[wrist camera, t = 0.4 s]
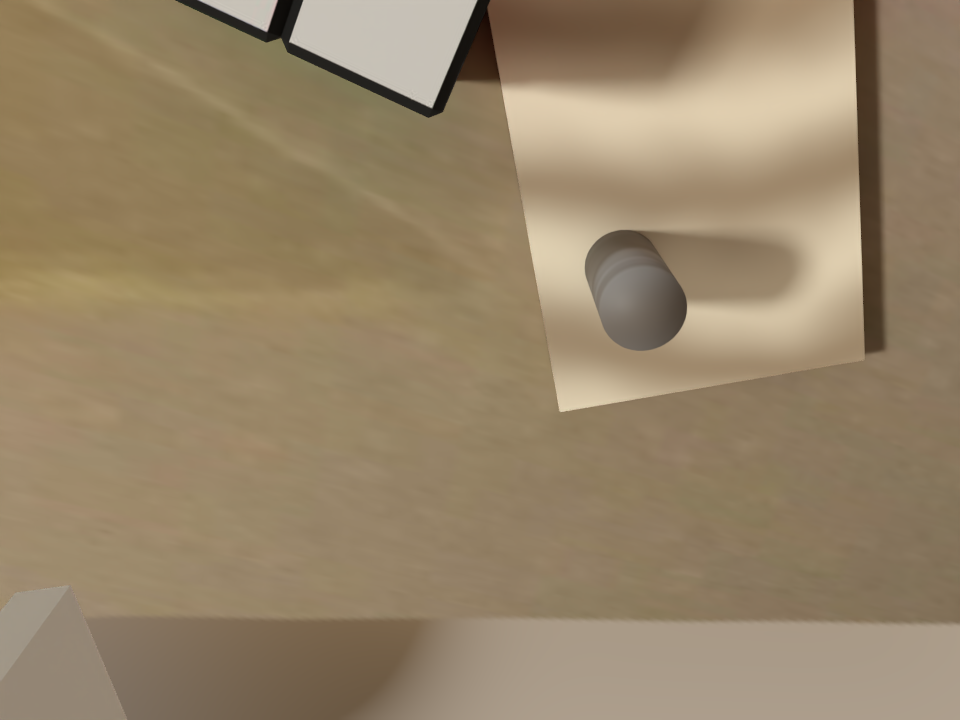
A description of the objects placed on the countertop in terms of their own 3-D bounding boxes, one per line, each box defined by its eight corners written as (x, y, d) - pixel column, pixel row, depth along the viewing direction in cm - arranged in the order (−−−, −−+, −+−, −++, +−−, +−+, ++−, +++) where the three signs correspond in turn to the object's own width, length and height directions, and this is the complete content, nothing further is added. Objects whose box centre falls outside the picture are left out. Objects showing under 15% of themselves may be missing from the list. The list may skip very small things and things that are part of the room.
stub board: (480, -34, 32) (477, -42, 26) (836, -111, 31) (922, -138, 25) (557, 400, 39) (570, 475, 33) (853, 349, 38) (924, 417, 32)
